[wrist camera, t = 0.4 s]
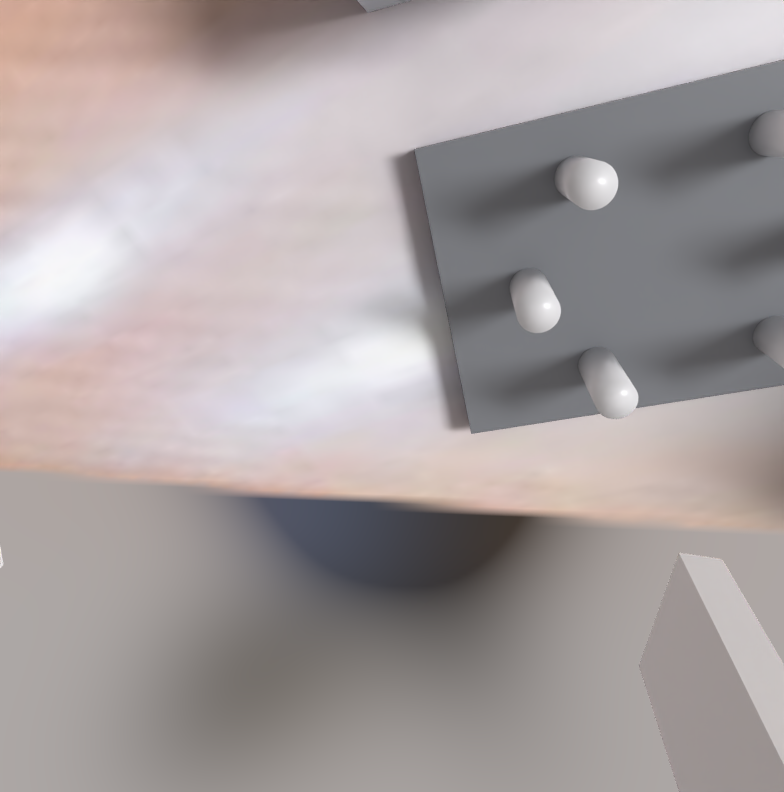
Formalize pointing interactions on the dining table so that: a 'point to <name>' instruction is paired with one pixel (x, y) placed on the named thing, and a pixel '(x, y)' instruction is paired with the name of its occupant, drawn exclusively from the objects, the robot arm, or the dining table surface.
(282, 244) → the dining table surface
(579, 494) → the dining table surface
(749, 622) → the robot arm
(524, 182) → the grey peg board
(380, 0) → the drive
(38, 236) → the dining table surface
